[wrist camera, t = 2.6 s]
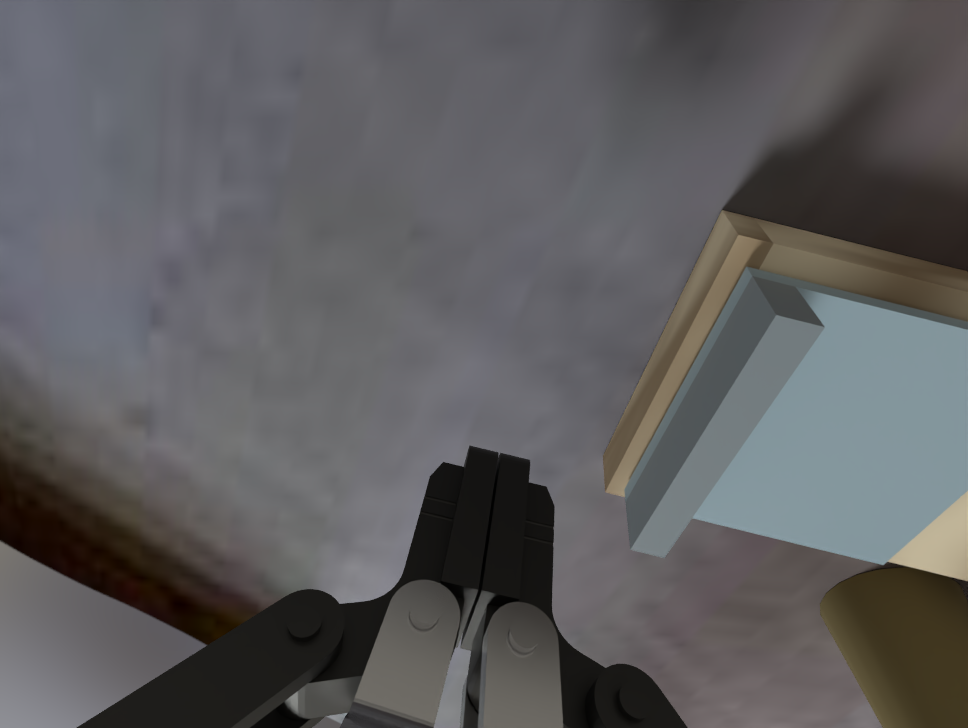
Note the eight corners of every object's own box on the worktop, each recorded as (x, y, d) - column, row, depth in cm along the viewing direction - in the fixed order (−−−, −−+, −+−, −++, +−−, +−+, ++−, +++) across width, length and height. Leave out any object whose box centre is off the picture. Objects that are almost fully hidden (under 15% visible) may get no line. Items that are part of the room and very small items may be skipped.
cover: (1092, 353, 15) (1181, 416, 13) (875, 551, 21) (912, 618, 18) (746, 266, 15) (776, 315, 13) (624, 489, 20) (630, 549, 18)
